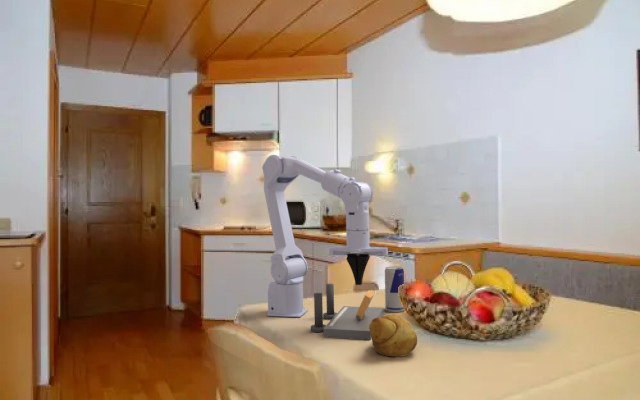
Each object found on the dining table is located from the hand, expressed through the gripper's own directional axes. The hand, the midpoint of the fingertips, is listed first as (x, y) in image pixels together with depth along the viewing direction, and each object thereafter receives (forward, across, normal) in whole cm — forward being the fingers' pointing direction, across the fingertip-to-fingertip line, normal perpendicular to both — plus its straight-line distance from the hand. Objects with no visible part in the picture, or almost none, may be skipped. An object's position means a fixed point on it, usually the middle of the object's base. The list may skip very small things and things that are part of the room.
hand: (358, 284), depth 120 cm
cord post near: (+10, -9, -6) cm, 15 cm away
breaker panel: (+10, -1, 0) cm, 10 cm away
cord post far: (+10, -9, +6) cm, 15 cm away
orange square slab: (+8, 0, 0) cm, 8 cm away
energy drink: (+11, +7, +17) cm, 21 cm away
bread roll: (+11, +10, -16) cm, 22 cm away
